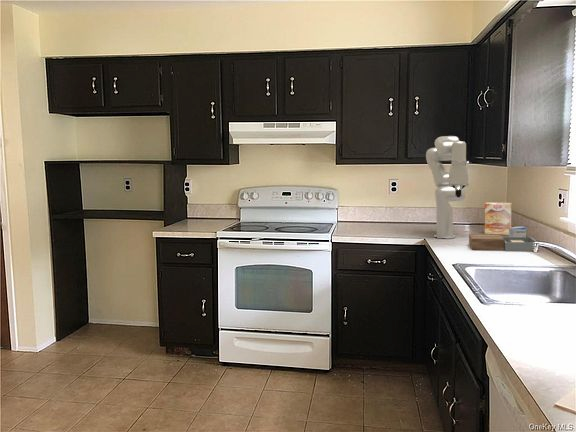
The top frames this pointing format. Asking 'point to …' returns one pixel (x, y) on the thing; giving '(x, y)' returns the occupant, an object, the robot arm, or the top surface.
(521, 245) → the bin
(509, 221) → the coffeecake box
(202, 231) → the top surface
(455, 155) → the robot arm
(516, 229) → the medicine box
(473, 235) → the walnut riser
